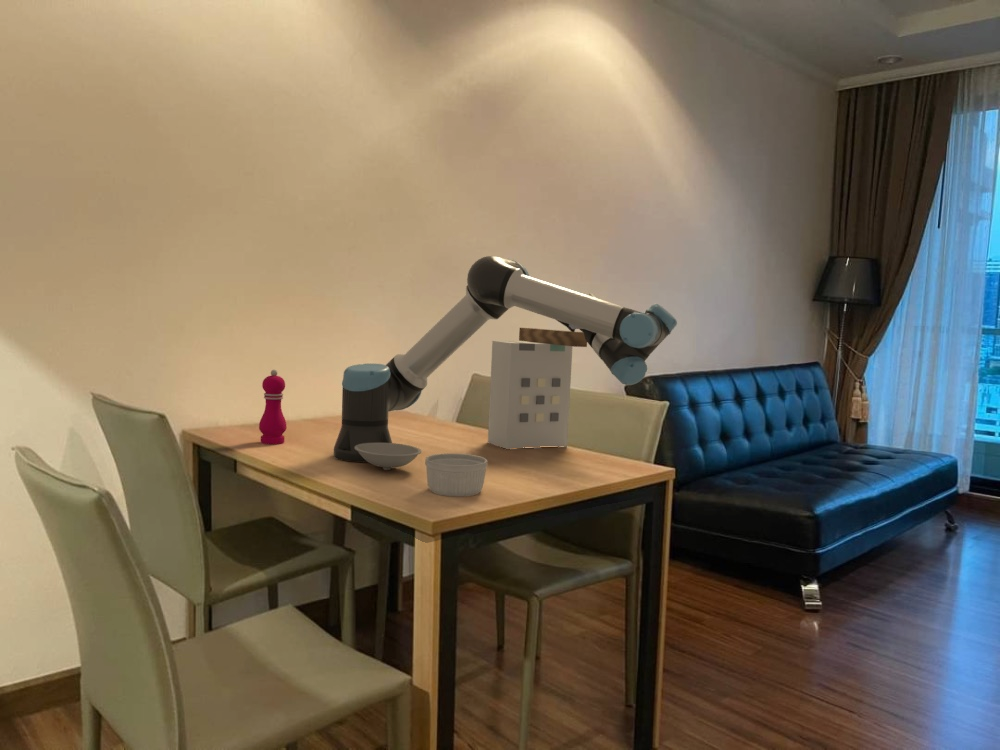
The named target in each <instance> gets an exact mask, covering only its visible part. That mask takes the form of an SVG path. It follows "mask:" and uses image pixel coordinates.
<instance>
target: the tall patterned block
mask: <svg viewBox="0 0 1000 750" xmlns="http://www.w3.org/2000/svg"><path fill="white" fill-rule="evenodd" d="M491 343H492V344H491V365H490V367H491V368H490V370H491V371H490V384H489V385H490V388H489V390H490V391H489V410H488V411H489V412H488V427H487V431H488V432H487V443H488V442H489V443H488V444H490V443H491V444H490V445H493V444H494V445H493V446H496V445H497V446H496V447H498V446H500V447H499V448H501V447H503V448H506V449H510V448H523V447H524V448H525V447H540V446H564V447H563V448H567V447H568V436H569V435H568V434H569V417H570V400H571V399H570V398H571V382H572V381H571V380H572V377H571V376H572V363H573V346H564V345H555V344H546V343H537V342H527V341H514V340H512V341H510V340H509V341H507V340H492V341H491ZM503 448H502V449H503ZM506 449H505V450H506ZM510 450H511V449H510Z"/></svg>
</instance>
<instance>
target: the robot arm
mask: <svg viewBox="0 0 1000 750" xmlns="http://www.w3.org/2000/svg"><path fill="white" fill-rule="evenodd" d="M466 282H467V284H466V286H465V296H463V297H462V298H461V299H460V300H459V301H458V302H457V303H456V304H455V305H454V306H453V307H452V308H451V309H450V310H449V311H448V312H447V313H446V314H445V315H443V317H441V318H440V320H438V322H437V323H436V324H434V325H433V326H432V327H431V329H429V330H428V332H427V333H425V334H424V335H423V336H422V337H421V338H420V339H419V340H418V341H417V342H416V343H415V344H414V345H413V346H412V347H411V348H410V349H409V350H408V351H407V352H406V353H404V354H403V353H402V354H401V353H400V354H399V353H398V354H396V355H394V356H393V358H391V359H390V360H389V361H388V362H387V363H386V364H384V363H383V364H382V363H363V364H362V363H361V364H359V363H358V364H354V365H353V364H352V365H350V366H348V367H346V368H345V369H344V370H343V375H342V381H341V386H342V393H341V396H342V397H341V399H342V401H341V402H342V404H341V427H340V430H339V433H338V436H337V438H336V441H335V444H334V447H333V458H335V459H337V460H339V461H345V462H352V463H353V462H355V463H368V462H367V461H366V460H365V459H364V458H363V457H362V456H361V455H360V454H359V452H358V451H357V450H355V448H354V447H355V446H356V445H358V444H363V443H393V440H392V437H391V433H390V431H389V413H390V412H394V411H403V410H405V409H407V408H410V407H411V406H413V405H414V404H415V403H416V402H417V401H418V400H419V399H420V397H421V394H422V391H423V390H424V389H425V388H427V386H428V378H429V377H430V376H431V375H432V374H433V373H434V372H435V371H436V370H437V369H438V368H439V367H440V366H441V365H442V364H444V363H445V361H446V360H448V359H449V358H450V357H451V356H452V355H453V354H455V352H456V351H457V350H458V349H459V348H460V347H461V346H463V345H464V344H465V342H467V341H468V340H469V339H470V338H471V337H472V336H473V335H474V334H475V333H476V332H477V331H478V330H479V329H481V328H482V326H483V325H485V324H486V323H487V322H488V321H490V320H498V319H500V318H501V317H502V316H503V315H504V314H505V313H506V312H508V310H510V309H511V308H513V307H517V308H519V309H522V310H526V311H528V312H532V313H535V314H537V315H540V316H544V317H547V318H549V319H552V320H556V321H557V322H558V323H560V324H561V325H563V326H565V327H566V328H567V329H568V331H572V332H575V331H576V330H579V331H580V332H584V336H585V339H586V341H587V345H589V346H590V348H591V349H592V350H593V352H594V353H595V354H596V355H597V356H598V357H599V358H600V360H601V361H602V362H603V364H605V366H606V367H607V368H608V370H609V371H610V373H611V374H612V375H613V376H614V377H615V378H616V379H617V380H618V381H619V382H620V383H621V384H622V385H626V386H632V385H635V384H637V383H639V382H641V381H642V380H643V379H644V378H645V376H646V373H647V372H648V366H647V363H646V360H647V359H648V358H649V357H650V356H651V354H652V353H653V352H654V351H655V350H656V349H657V348H658V347H659V345H661V344H662V342H663V341H664V340H665V339H666V338H667V337H668V336H670V334H672V331H673V330H674V329H675V327H677V325H678V322H677V321H678V320H677V319H676V318H675V317H674V316H673V314H671V313H670V312H669V311H668V310H667V309H665V308H664V307H663V306H661V305H660V304H658V303H653V304H652V305H651V306H650V307H648V309H646V310H645V312H642V311H638V310H635V309H631V308H629V307H625V306H622V305H619V304H616V303H614V302H613V303H612V302H610V301H607V300H604V299H600V298H597V297H596V295H594V294H593V292H589V294H585V293H582V292H579V291H575V290H572V289H569V288H566V287H564V286H559V285H557V284H554V283H550V282H547V281H544V280H541V279H538V278H535V277H532V276H530V274H529V272H528V270H527V269H526V268H525V267H524V266H523V265H522V264H521V263H520V262H518V261H517V260H514V259H510V258H503V257H499V256H495V255H486V256H484V257H481V258H479V259H478V260H475V262H473V264H472V265H471V267H470V268H469V270H468V273H467V279H466Z"/></svg>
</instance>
